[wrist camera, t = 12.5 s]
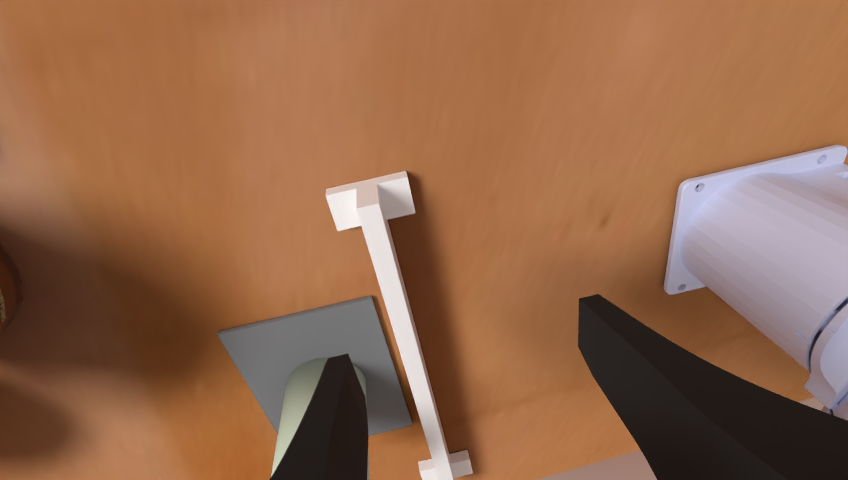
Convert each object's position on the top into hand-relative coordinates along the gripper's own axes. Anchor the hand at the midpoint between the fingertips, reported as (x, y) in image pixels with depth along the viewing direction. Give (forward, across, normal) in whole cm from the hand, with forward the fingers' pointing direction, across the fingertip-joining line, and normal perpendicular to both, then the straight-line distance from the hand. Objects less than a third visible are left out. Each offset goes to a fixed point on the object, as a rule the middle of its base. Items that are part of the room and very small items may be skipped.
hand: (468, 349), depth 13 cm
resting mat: (+10, +8, +11) cm, 17 cm away
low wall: (+10, +2, +11) cm, 15 cm away
